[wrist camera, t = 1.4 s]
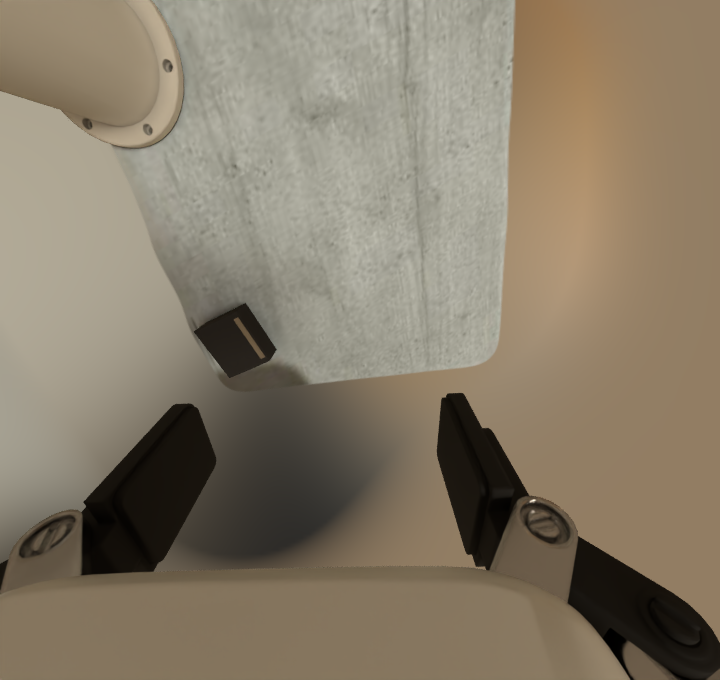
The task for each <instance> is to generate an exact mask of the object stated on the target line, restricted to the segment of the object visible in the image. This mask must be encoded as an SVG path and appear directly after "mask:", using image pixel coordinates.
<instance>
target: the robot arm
mask: <svg viewBox="0 0 720 680" xmlns="http://www.w3.org/2000/svg"><path fill="white" fill-rule="evenodd" d="M172 67H173V69H172V71H171V68H172ZM0 91H2V92H6V93H9V94H12V95H15V96H18V97H22V98H25V99H28V100H31V101H34V102H38V103H41V104H44V105H47V106H51V107H54V108H57V109H60V110H61V111H62V112H63V113H64V114H65V115H66V116H67V117H68V118H69V119H70V120H71V121H72V122H74V123H75V124H76V125H77V126H78V127H80V128H81V129H82V130H84V131H85V132H87V133H88V134H89V135H91V136H93V137H95V138H97V139H99V140H101V141H103V142H106V143H110V144H113V145H116V146H121V147H126V148H142V147H146V146H150V145H153V144H155V143H156V142H158V141H160V140H162V139H163V138H164V137H165V136H166V135H167V134H168V133H169V132H170V131H171V129H172V128H173V126H174V124H175V123H176V121H177V119H178V116H179V113H180V110H181V107H182V100H183V93H184V85H183V71H182V65H181V59H180V56H179V52H178V49H177V46H176V43H175V40H174V38H173V35H172V33H171V31H170V29H169V27H168V25H167V23H166V21H165V19H164V18H163V16H162V14H161V13H160V11H159V10H158V8H157V7H156V5H155V4H154V3H153V1H152V0H0ZM152 130H153V131H152ZM437 457H438V461H439V464H440V468H441V471H442V474H443V478H444V481H445V485H446V488H447V491H448V495H449V498H450V501H451V505H452V508H453V511H454V515H455V518H456V522H457V525H458V528H459V531H460V535H461V538H462V542H463V545H464V548H465V551H466V553H467V554H468V555H470V554H472V556H473V559H474V562H475V565H476V567H481V566H485V567H486V570H482V569H475V568H465V567H446V566H376V567H323V568H276V569H234V570H199V571H198V570H197V571H166V572H165V571H163V572H153V571H154V569H155V568H156V566H157V564H158V562H161V561H162V560H163V559H164V558H165V556H166V555H167V553H168V551H169V549H170V547H171V545H172V544H173V542H174V540H175V538H176V536H177V535H178V533H179V531H180V529H181V527H182V525H183V524H184V522H185V520H186V518H187V516H188V515H189V513H190V511H191V509H192V507H193V505H194V504H195V502H196V500H197V498H198V496H199V495H200V493H201V491H202V489H203V487H204V486H205V484H206V482H207V480H208V478H209V476H210V474H211V473H212V471H213V469H214V467H215V465H216V457H215V454H214V451H213V448H212V445H211V443H210V440H209V437H208V434H207V432H206V429H205V426H204V424H203V421H202V418H201V416H200V413H199V410H198V408H196V407H194V406H193V405H192V404H175V405H173V406H172V407H171V408H170V409H169V410H168V411H167V412H166V413H165V414H164V415H163V417H162V418H161V419H160V420H159V421H158V422H157V423H156V424H155V425H154V426H153V427H152V429H151V430H150V431H149V432H148V433H147V434H146V435H145V436H144V437H143V438H142V439H141V440H140V441H139V442H138V444H137V445H136V446H135V447H134V448H133V449H132V450H131V451H130V452H129V453H128V454H127V456H126V457H125V458H124V459H123V460H122V461H121V462H120V463H119V464H118V465H117V466H116V467H115V468H114V470H113V471H112V472H111V473H110V474H109V475H108V476H107V477H106V478H105V479H104V481H103V482H102V483H101V484H100V485H99V486H98V487H97V488H96V489H95V490H94V491H93V492H92V493H91V494H90V495H89V497H88V498H87V499H86V500H85V501H84V504H85V505H86V508H85V509H84V510H83V511H82V512H80V511H78V510H66V511H62V512H59V513H56V514H54V515H51V516H49V517H48V518H46V519H44V520H42V521H41V522H39V523H38V524H36V525H35V526H33V527H32V528H31V529H30V530H28V531H27V532H26V533H25V534H24V535H23V536H22V537H21V538H20V539H19V540H18V542H17V543H16V544H15V545H14V547H13V549H12V551H11V553H10V556H9V559H8V560H6V561H5V562H3V563H1V564H0V680H720V643H719V641H718V639H717V637H716V635H715V634H714V632H713V630H712V629H711V628H710V626H709V625H708V624H707V623H706V621H705V620H704V619H703V618H702V617H701V616H700V614H698V613H697V612H696V611H695V610H694V609H693V608H692V607H691V606H690V605H689V604H688V603H686V602H685V601H683V600H682V599H681V598H679V597H678V596H676V595H675V594H673V593H672V592H670V591H669V590H667V589H665V588H664V587H662V586H660V585H658V584H656V583H655V582H654V581H652V580H650V579H649V578H647V577H645V576H643V575H642V574H640V573H638V572H637V571H635V570H633V569H632V568H630V567H629V566H627V565H625V564H624V563H622V562H620V561H619V560H617V559H615V558H614V557H612V556H610V555H609V554H607V553H605V552H604V551H602V550H600V549H599V548H597V547H595V546H594V545H592V544H590V543H589V542H587V541H585V540H584V539H582V538H580V537H579V536H578V531H577V529H576V527H575V524H574V522H573V521H572V519H571V518H570V517H569V515H568V514H567V513H566V512H564V510H562V509H561V508H560V507H559V506H557V505H556V504H554V503H553V502H551V501H549V500H546V499H544V498H541V497H536V496H529V494H528V493H527V491H526V489H525V487H524V486H523V484H522V482H521V480H520V479H519V477H518V475H517V473H516V472H515V470H514V468H513V466H512V465H511V463H510V461H509V459H508V458H507V456H506V454H505V452H504V451H503V449H502V447H501V445H500V444H499V442H498V440H497V438H496V437H495V435H494V433H493V432H492V430H491V429H489V428H482V427H481V425H480V423H479V421H478V420H477V418H476V416H475V414H474V412H473V410H472V409H471V406H470V405H469V403H468V401H467V399H466V397H465V395H464V394H463V393H449V394H447V395H446V398H442V400H441V411H440V421H439V433H438V444H437Z"/></svg>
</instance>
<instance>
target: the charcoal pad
mask: <svg viewBox="0 0 720 680" xmlns="http://www.w3.org/2000/svg"><path fill="white" fill-rule="evenodd" d="M194 333H195V334H196V335H197V337H198V338H199V339H200V340H201V342H202V343H203V344H204V346H205V347H206V348H207V350H208V351H209V352H210V353H211V355H212V356H213V357H214V359H215V360H216V361H217V362H218V364H219V365H220V366H221V368H222V369H223V370H224V372H225V373H226V374H227V375H228V377H229V378H231V377H233V376H235V375H238V374H240V373H242V372H245V371H247V370H249V369H252V368H254V367H256V366H259V365H261V364H263V363H266V362H268V361H270V359H271V358H272V356H273V354H274V353H275V351H276V348H275V347H274V345H273V344H272V342H271V341H270V339H269V338H268V336H267V334H266V333H265V331H264V330H263V328H262V327H261V325H260V324H259V322H258V321H257V319H256V318H255V316H254V315H253V313H252V312H251V310H250V309H249V307H248V306H247V304H246V303H245V304H243V305H241V306H239V307H237V308H235V309H233V310H231V311H229V312H227V313H225V314H222V315H220V316H218V317H216V318H214V319H212V320H210V321H208V322H206V323H205V324H204V325H202V326H201V327H199V328H198V329H197V330H195V331H194Z"/></svg>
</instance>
